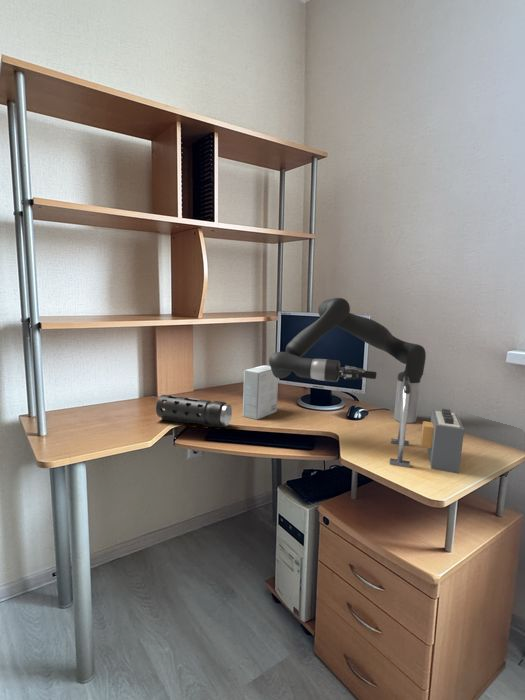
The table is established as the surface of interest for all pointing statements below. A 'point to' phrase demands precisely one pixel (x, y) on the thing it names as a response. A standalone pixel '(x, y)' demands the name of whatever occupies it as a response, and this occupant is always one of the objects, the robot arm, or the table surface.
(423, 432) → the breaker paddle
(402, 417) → the cord gate
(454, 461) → the box
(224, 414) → the muzzle brake
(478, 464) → the table surface
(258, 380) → the hard drive box
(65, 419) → the table surface
